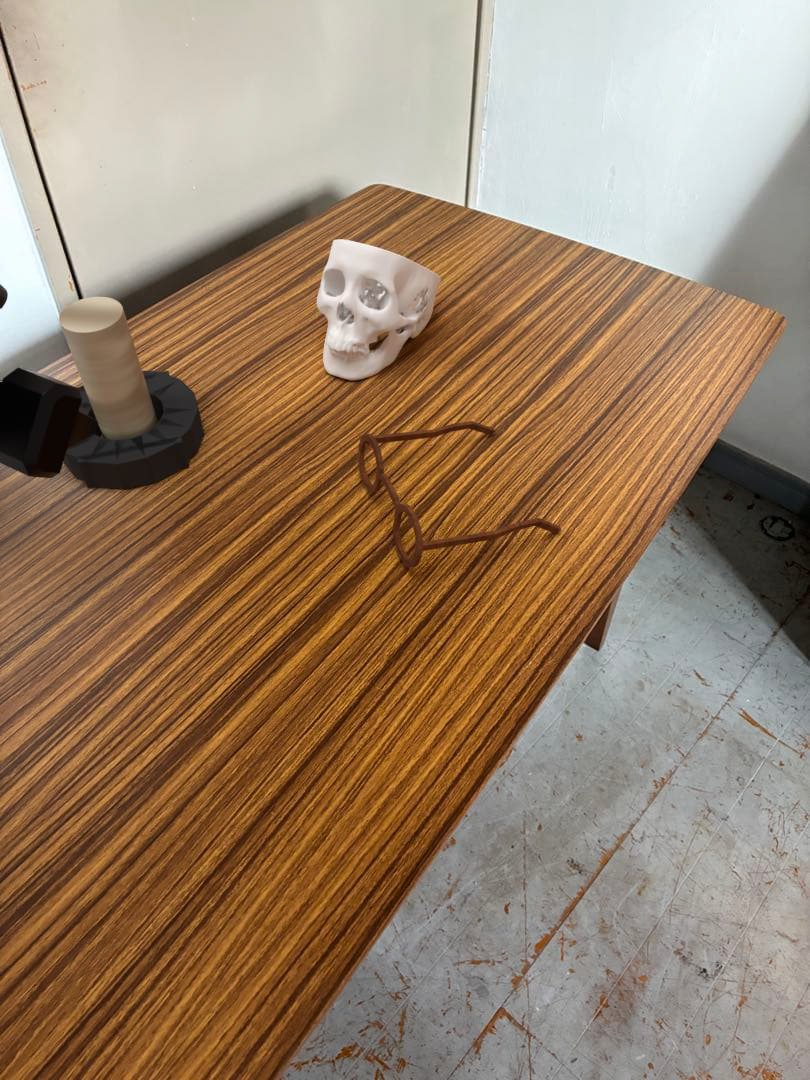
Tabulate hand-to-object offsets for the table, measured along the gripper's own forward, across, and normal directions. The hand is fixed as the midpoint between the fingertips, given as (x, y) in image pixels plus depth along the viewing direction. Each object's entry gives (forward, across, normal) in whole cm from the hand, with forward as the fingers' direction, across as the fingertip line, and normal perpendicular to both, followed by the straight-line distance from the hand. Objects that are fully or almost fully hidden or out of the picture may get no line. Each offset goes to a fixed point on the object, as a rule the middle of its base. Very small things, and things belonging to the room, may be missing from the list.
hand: (49, 408), depth 62 cm
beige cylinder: (+11, 0, +1) cm, 11 cm away
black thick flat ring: (+11, 0, +1) cm, 11 cm away
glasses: (+16, -28, -3) cm, 33 cm away
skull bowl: (+27, -11, -15) cm, 33 cm away
